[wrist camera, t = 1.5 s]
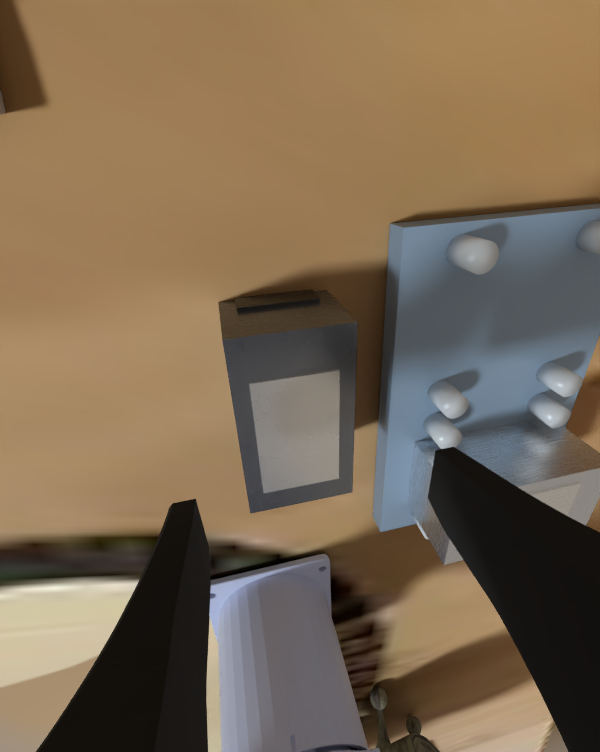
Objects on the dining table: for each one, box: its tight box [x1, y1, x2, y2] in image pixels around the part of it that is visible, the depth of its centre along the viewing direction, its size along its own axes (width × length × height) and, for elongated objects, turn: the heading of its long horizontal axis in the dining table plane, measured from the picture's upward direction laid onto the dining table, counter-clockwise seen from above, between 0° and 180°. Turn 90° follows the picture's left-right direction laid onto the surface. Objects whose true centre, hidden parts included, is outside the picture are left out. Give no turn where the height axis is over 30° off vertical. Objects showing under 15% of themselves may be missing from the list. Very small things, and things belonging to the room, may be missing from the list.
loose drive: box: [218, 290, 358, 513], centre depth 16 cm, size 4×8×4 cm, turn 3°
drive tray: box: [373, 203, 600, 540], centre depth 19 cm, size 17×11×3 cm, turn 3°
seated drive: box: [407, 418, 600, 565], centre depth 20 cm, size 4×8×4 cm, turn 93°
